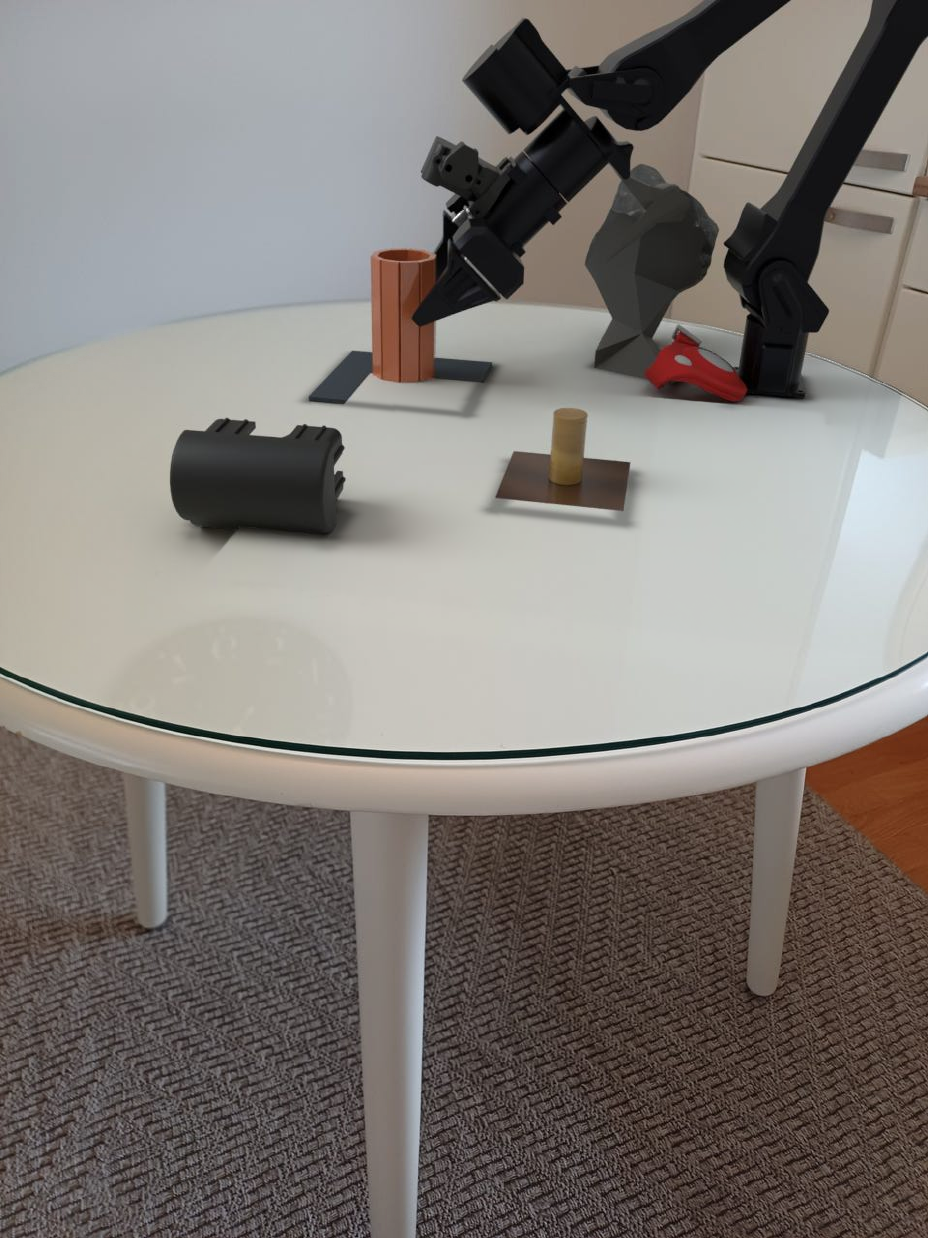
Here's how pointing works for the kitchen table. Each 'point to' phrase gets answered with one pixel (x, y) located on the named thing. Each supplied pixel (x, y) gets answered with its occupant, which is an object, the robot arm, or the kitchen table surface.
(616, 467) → the ring holder
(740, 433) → the kitchen table surface
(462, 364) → the flat corner bracket
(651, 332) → the grey angular chunk
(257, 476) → the end cap
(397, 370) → the orange tube
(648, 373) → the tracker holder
